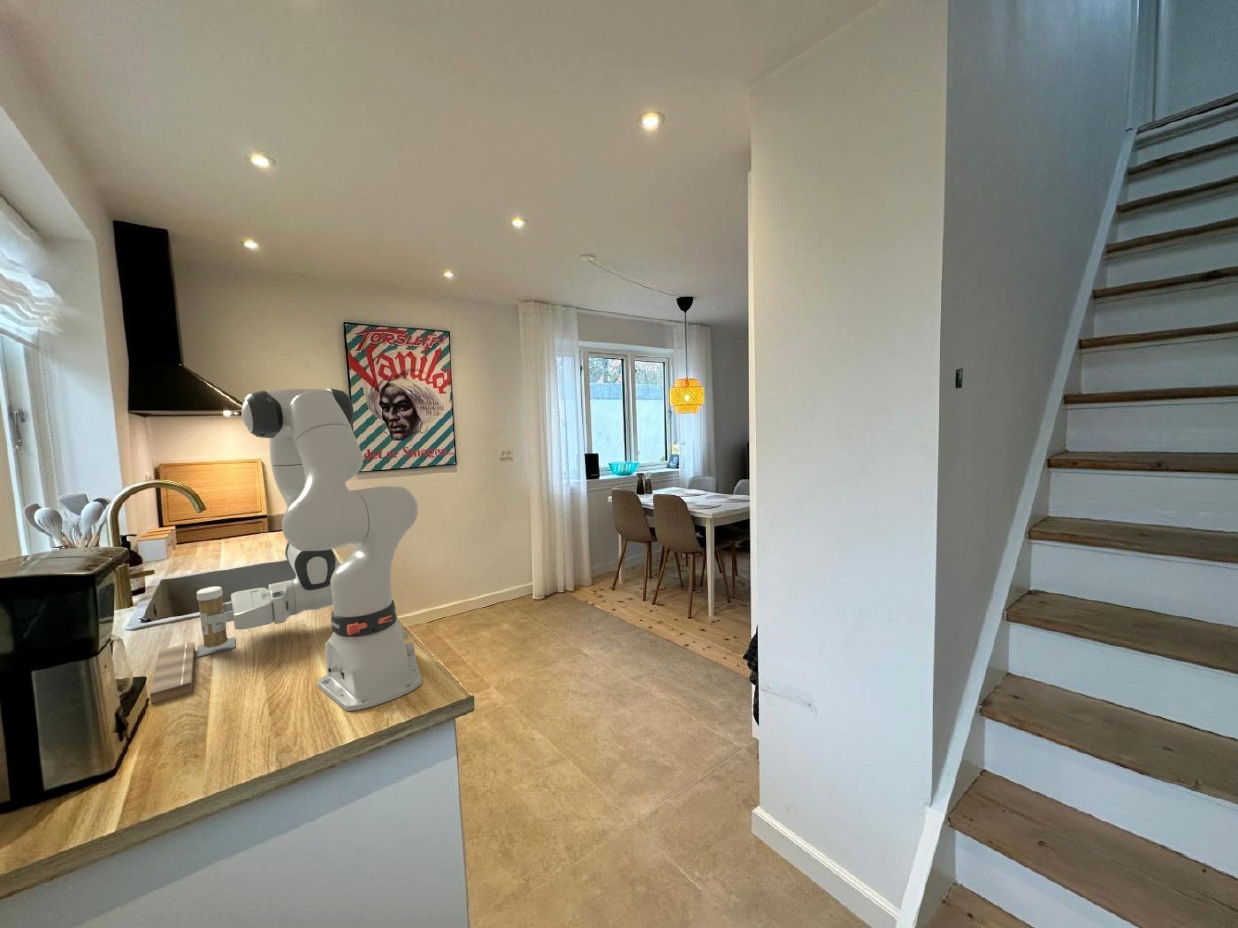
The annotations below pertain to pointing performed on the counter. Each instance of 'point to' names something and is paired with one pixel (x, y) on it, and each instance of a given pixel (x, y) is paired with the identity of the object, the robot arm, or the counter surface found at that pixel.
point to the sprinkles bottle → (210, 605)
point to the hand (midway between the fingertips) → (207, 616)
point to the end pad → (216, 648)
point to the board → (173, 673)
